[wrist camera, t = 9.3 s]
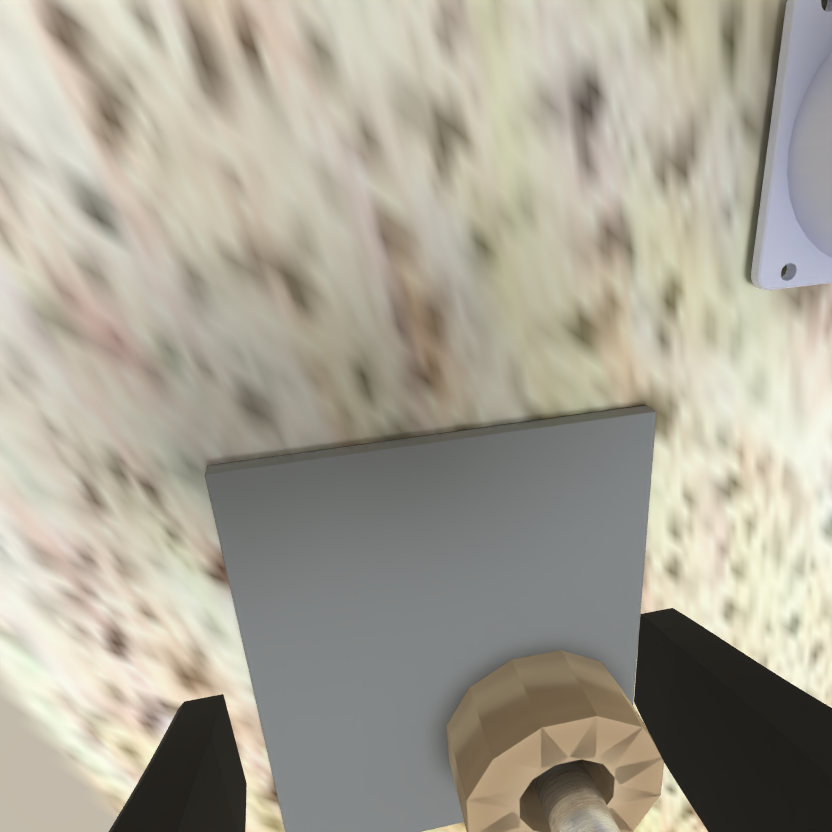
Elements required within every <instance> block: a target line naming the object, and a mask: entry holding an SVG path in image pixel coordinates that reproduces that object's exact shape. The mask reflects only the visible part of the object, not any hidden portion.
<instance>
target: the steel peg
mask: <svg viewBox="0 0 832 832" xmlns="http://www.w3.org/2000/svg"><path fill="white" fill-rule="evenodd" d="M531 782H532V784H533V787H534V789H535V792H536V794H537V797H538V799H539V802H540V804H541V807H542V809H543V811H544V814H545V816H546V819H547V821H548V824H549V826H550V829H551V831H552V832H620V830H619V828H618V826H617V824H616V822H615V820H614V818H613V817H612V815H611V813H610V811H609V809H608V807H607V805H606V803H605V801H604V799H603V797H602V795H601V793H600V791H599V789H598V787H597V785H596V783H595V781H594V780H593V778H592V776H591V774H590V772H589V770H588V768H587V766H586V764H585V762H584V760H583V759H580V760H576V761H571V762H567V763H562V764H558V765H555V766H553V767H551V768H550V769H548V770H547V771H545V772H544V773H542V774H541V775H539V776H538V777H536V778H534V779H533V780H532V781H531Z"/></svg>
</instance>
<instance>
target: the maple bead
mask: <svg viewBox="0 0 832 832" xmlns="http://www.w3.org/2000/svg"><path fill="white" fill-rule="evenodd" d="M447 739H448V752H449V763H450V767H451V771H452V775H453V779H454V783H455V787H456V791H457V795H458V799H459V803H460V807H461V810H462V814H463V818H464V822H465V826H466V830H467V832H552V831H551V829H550V826H549V824H548V821H547V819H546V816H545V814H544V811H543V809H542V807H541V804H540V802H539V799H538V797H537V794H536V792H535V789H534V787H533V784H532V782H531V781H532V780H533V779H534V778H536V777H538V776H539V775H541V774H542V773H544V772H545V771H547V770H548V769H550V768H551V767H553V766H555V765H558V764H562V763H567V762H571V761H576V760H580V759H583V760H584V762H585V764H586V766H587V768H588V770H589V772H590V774H591V776H592V778H593V780H594V781H595V783H596V785H597V787H598V789H599V791H600V793H601V795H602V797H603V799H604V801H605V803H606V805H607V807H608V809H609V811H610V813H611V815H612V817H613V818H614V820H615V822H616V824H617V826H618V828H619V830H620V832H633V831H634V830H635V828H636V827H637V826H638V824H639V823H640V822H641V820H642V819H643V818H644V816H645V815H646V814H647V812H648V811H649V810H650V808H651V807H652V806H653V804H654V803H655V802H656V800H657V799H658V798H659V796H660V795H661V786H662V777H663V768H664V761H663V759H662V757H661V755H660V753H659V751H658V749H657V747H656V746H655V744H654V742H653V740H652V738H651V736H650V734H649V732H648V730H647V728H646V726H645V724H644V723H643V721H642V720H641V718H640V717H639V715H638V713H637V712H636V710H635V709H634V707H633V705H632V704H631V702H630V701H629V699H628V698H627V696H626V694H625V693H624V691H623V690H622V689H621V687H620V686H619V685H618V683H617V682H616V681H615V679H614V678H613V677H612V675H611V674H610V673H609V671H608V670H607V669H606V667H605V666H604V665H603V663H602V662H601V661H597V660H594V659H590V658H587V657H583V656H580V655H576V654H573V653H569V652H566V651H562V650H558V651H553V652H548V653H543V654H538V655H532V656H527V657H522V658H517V659H512V660H510V661H509V662H507V663H506V664H504V665H503V666H501V667H500V668H498V669H497V670H495V671H494V672H492V673H491V674H489V675H488V676H486V677H485V678H483V679H482V680H480V681H478V682H477V683H475V684H474V685H472V686H471V687H469V689H468V691H467V692H466V694H465V696H464V697H463V699H462V701H461V702H460V704H459V706H458V707H457V709H456V711H455V712H454V714H453V716H452V717H451V719H450V721H449V722H448V724H447Z"/></svg>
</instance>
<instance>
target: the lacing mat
mask: <svg viewBox="0 0 832 832" xmlns="http://www.w3.org/2000/svg"><path fill="white" fill-rule="evenodd" d="M655 424H656V411H655V410H653V409H652V408H650V407H649V406H647V405H645V406H638V407H630V408H623V409H616V410H609V411H601V412H594V413H587V414H580V415H572V416H565V417H558V418H551V419H543V420H536V421H529V422H522V423H514V424H507V425H500V426H493V427H485V428H478V429H471V430H464V431H456V432H449V433H442V434H435V435H427V436H420V437H413V438H406V439H398V440H391V441H384V442H377V443H369V444H362V445H355V446H348V447H340V448H333V449H326V450H319V451H311V452H304V453H297V454H290V455H282V456H275V457H268V458H261V459H253V460H246V461H239V462H232V463H224V464H217V465H210V466H207V469H206V473H205V478H206V482H207V487H208V491H209V496H210V500H211V505H212V509H213V513H214V518H215V522H216V527H217V531H218V535H219V540H220V544H221V549H222V553H223V558H224V562H225V566H226V571H227V575H228V580H229V584H230V589H231V593H232V597H233V602H234V606H235V611H236V615H237V619H238V624H239V628H240V633H241V637H242V642H243V646H244V650H245V655H246V659H247V664H248V668H249V672H250V677H251V681H252V686H253V690H254V695H255V699H256V703H257V708H258V712H259V717H260V721H261V725H262V730H263V734H264V739H265V743H266V748H267V752H268V756H269V761H270V765H271V770H272V774H273V779H274V783H275V787H276V792H277V796H278V801H279V805H280V809H281V814H282V818H283V823H284V827H285V832H422V831H426V830H430V829H435V828H439V827H444V826H448V825H452V824H457V823H461V822H464V818H463V814H462V810H461V807H460V803H459V799H458V795H457V791H456V787H455V783H454V779H453V775H452V771H451V767H450V763H449V752H448V739H447V724H448V722H449V721H450V719H451V717H452V716H453V714H454V712H455V711H456V709H457V707H458V706H459V704H460V702H461V701H462V699H463V697H464V696H465V694H466V692H467V691H468V689H469V687H471V686H472V685H474V684H475V683H477V682H478V681H480V680H482V679H483V678H485V677H486V676H488V675H489V674H491V673H492V672H494V671H495V670H497V669H498V668H500V667H501V666H503V665H504V664H506V663H507V662H509V661H510V660H512V659H517V658H522V657H527V656H532V655H538V654H543V653H548V652H553V651H558V650H562V651H566V652H569V653H573V654H576V655H580V656H583V657H587V658H590V659H594V660H597V661H601V662H602V663H603V665H604V666H605V667H606V669H607V670H608V671H609V673H610V674H611V675H612V677H613V678H614V679H615V681H616V682H617V683H618V685H619V686H620V687H621V689H622V690H623V691H624V693H625V694H626V696H627V698H628V699H629V701H630V702H631V704H632V705H633V698H634V685H635V673H636V660H637V648H638V635H639V623H640V610H641V598H642V586H643V573H644V561H645V548H646V536H647V523H648V511H649V498H650V486H651V473H652V461H653V448H654V436H655Z"/></svg>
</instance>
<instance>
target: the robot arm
mask: <svg viewBox="0 0 832 832" xmlns="http://www.w3.org/2000/svg"><path fill="white" fill-rule="evenodd" d="M785 265H787V271H786V274H785V275H784V276H783V277H782V278H781V271H782V268H783V267H784V266H785ZM751 280H752V282H753V284H754V285H755V286H756V287H758V288H761V289H765V290H775V289H784V288H793V287H801V286H810V285H819V284H828V283H832V0H827V6H826V9H825V11H824V9H823V8H822V6H821V0H787V3H786V9H785V17H784V25H783V32H782V40H781V48H780V55H779V63H778V71H777V78H776V86H775V94H774V101H773V109H772V117H771V124H770V132H769V140H768V147H767V155H766V163H765V170H764V178H763V185H762V193H761V201H760V208H759V216H758V224H757V231H756V239H755V247H754V254H753V262H752V270H751ZM634 702H635V705H636V707H637V709H638V711H639V713H640V715H641V717H642V719H643V721H644V723H645V725H646V728H647V730H648V732H649V734H650V736H651V738H652V740H653V742H654V744H655V746H656V747H657V749H658V751H659V753H660V755H661V757H662V759H663V761H664V763H665V764H666V766H667V767H668V769H669V771H670V772H671V774H672V775H673V777H674V779H675V780H676V782H677V783H678V785H679V786H680V788H681V790H682V791H683V793H684V794H685V796H686V798H687V799H688V801H689V802H690V804H691V805H692V807H693V809H694V810H695V812H696V813H697V815H698V816H699V818H700V819H701V821H702V822H703V824H704V826H705V827H706V829H707V830H708V832H832V708H831V707H829V706H827V705H826V704H824V703H822V702H821V701H819V700H817V699H816V698H814V697H812V696H811V695H809V694H807V693H806V692H804V691H802V690H801V689H799V688H797V687H796V686H794V685H793V684H791V683H789V682H788V681H786V680H784V679H783V678H781V677H780V676H778V675H776V674H775V673H773V672H772V671H770V670H769V669H767V668H765V667H764V666H762V665H761V664H759V663H758V662H756V661H754V660H753V659H751V658H750V657H748V656H747V655H745V654H744V653H742V652H741V651H739V650H737V649H736V648H734V647H733V646H731V645H730V644H728V643H727V642H725V641H724V640H722V639H720V638H719V637H717V636H716V635H714V634H713V633H711V632H710V631H708V630H707V629H705V628H704V627H702V626H700V625H699V624H697V623H696V622H694V621H693V620H691V619H690V618H688V617H686V616H685V615H683V614H682V613H680V612H678V611H677V610H675V609H673V608H671V609H665V610H660V611H655V612H650V613H645V614H641V616H640V630H639V643H638V656H637V670H636V683H635V696H634ZM245 822H246V780H245V776H244V772H243V769H242V765H241V761H240V757H239V753H238V749H237V745H236V742H235V738H234V734H233V730H232V726H231V722H230V718H229V715H228V711H227V707H226V703H225V699H224V695H223V694H222V695H217V696H212V697H207V698H201V699H196V700H191V701H186V702H184V703H183V704H182V705H181V706H180V708H179V709H178V711H177V713H176V714H175V716H174V718H173V720H172V722H171V724H170V726H169V728H168V730H167V731H166V733H165V735H164V737H163V739H162V741H161V743H160V744H159V746H158V748H157V750H156V752H155V754H154V755H153V757H152V759H151V761H150V763H149V764H148V766H147V768H146V770H145V771H144V773H143V775H142V777H141V778H140V780H139V782H138V784H137V785H136V787H135V789H134V791H133V792H132V794H131V796H130V797H129V799H128V801H127V802H126V804H125V806H124V807H123V809H122V811H121V812H120V814H119V816H118V817H117V819H116V821H115V822H114V824H113V826H112V827H111V829H110V831H109V832H245Z"/></svg>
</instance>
